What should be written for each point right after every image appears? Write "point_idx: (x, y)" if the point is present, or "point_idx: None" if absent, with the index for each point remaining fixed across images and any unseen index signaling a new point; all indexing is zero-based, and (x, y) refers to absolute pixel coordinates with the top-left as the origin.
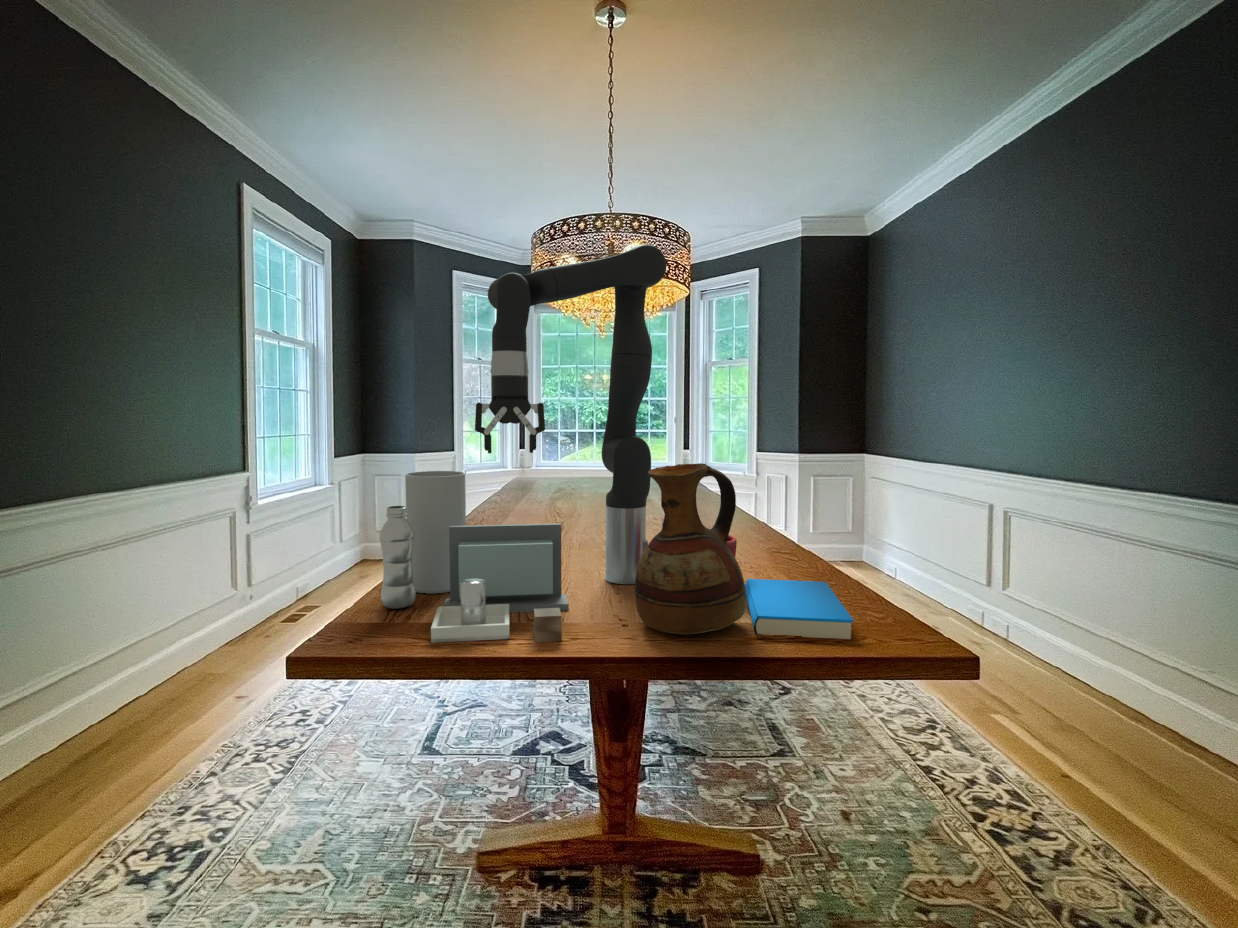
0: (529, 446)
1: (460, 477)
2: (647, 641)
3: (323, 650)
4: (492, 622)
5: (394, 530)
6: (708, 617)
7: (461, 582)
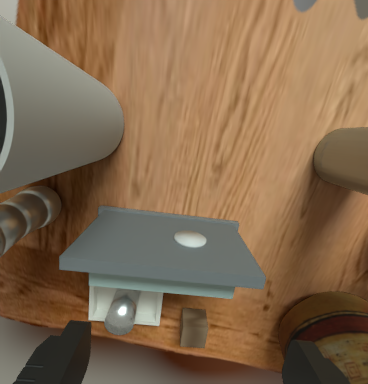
0: (307, 376)
1: (8, 168)
2: (267, 343)
3: (3, 305)
4: None
5: None
6: None
7: (105, 323)
